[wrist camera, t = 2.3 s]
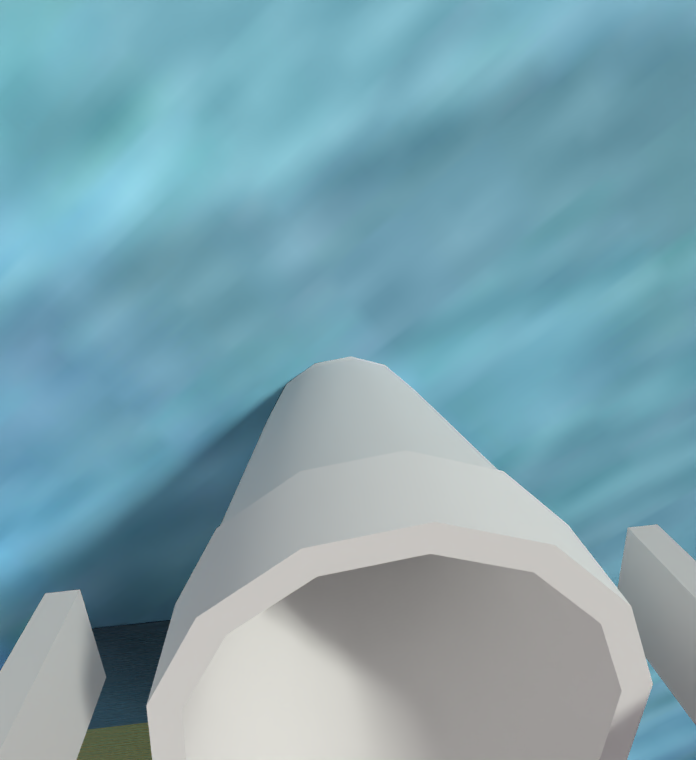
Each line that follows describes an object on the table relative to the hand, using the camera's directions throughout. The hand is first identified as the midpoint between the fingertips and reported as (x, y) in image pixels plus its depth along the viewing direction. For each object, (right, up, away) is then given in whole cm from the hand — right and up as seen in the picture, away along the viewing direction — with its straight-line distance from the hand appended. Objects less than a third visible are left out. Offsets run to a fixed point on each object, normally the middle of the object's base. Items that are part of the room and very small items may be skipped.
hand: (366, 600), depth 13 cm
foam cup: (-1, +3, +9) cm, 10 cm away
